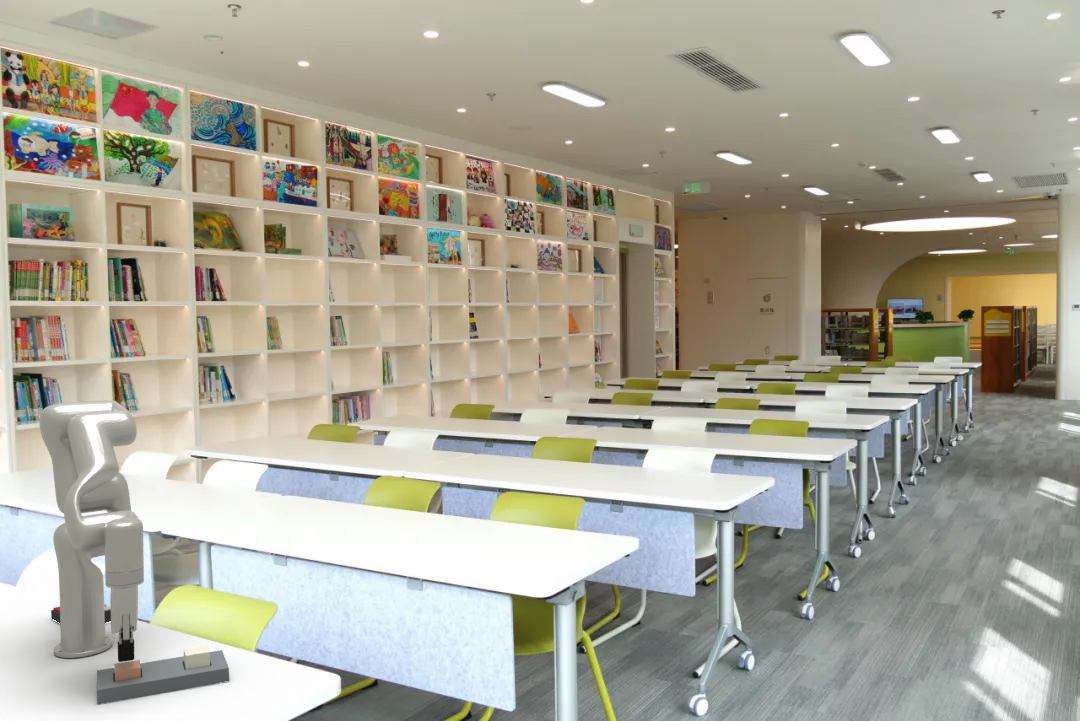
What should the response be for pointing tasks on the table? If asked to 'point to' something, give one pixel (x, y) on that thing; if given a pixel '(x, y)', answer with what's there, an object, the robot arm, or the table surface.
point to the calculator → (56, 613)
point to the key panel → (161, 678)
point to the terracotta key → (127, 670)
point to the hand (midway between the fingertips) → (126, 659)
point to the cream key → (196, 657)
